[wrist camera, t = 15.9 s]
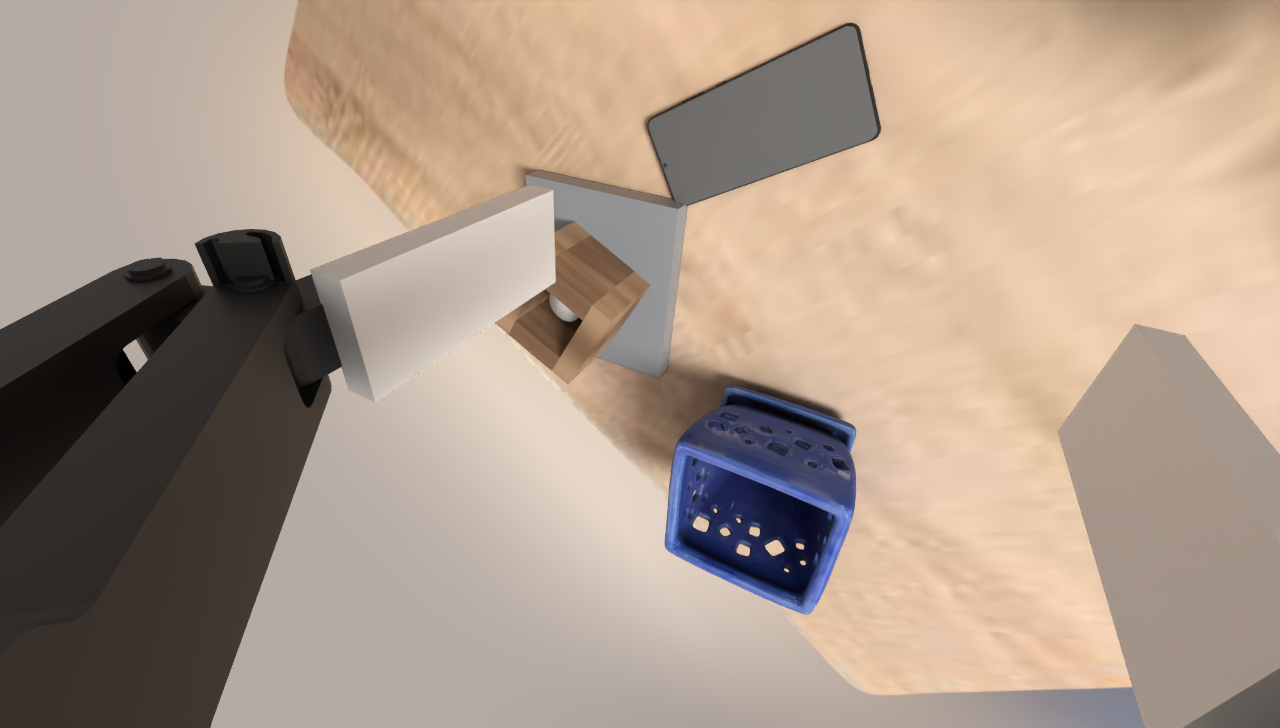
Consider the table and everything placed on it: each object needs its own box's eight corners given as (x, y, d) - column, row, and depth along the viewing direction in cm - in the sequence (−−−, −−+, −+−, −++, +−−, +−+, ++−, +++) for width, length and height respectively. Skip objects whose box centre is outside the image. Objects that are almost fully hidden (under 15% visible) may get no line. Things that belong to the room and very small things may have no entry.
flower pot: (705, 466, 54) (658, 554, 45) (723, 362, 47) (671, 442, 38) (834, 515, 50) (811, 623, 41) (877, 409, 42) (861, 512, 33)
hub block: (574, 221, 44) (524, 248, 38) (651, 285, 43) (611, 320, 38) (526, 316, 52) (479, 349, 46) (590, 370, 52) (550, 409, 46)
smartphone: (882, 137, 32) (676, 210, 41) (883, 135, 33) (680, 207, 41) (857, 17, 30) (643, 120, 38) (858, 17, 31) (648, 118, 39)
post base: (539, 169, 45) (486, 188, 40) (688, 202, 40) (650, 228, 35) (545, 327, 54) (503, 359, 49) (667, 367, 50) (635, 408, 44)
